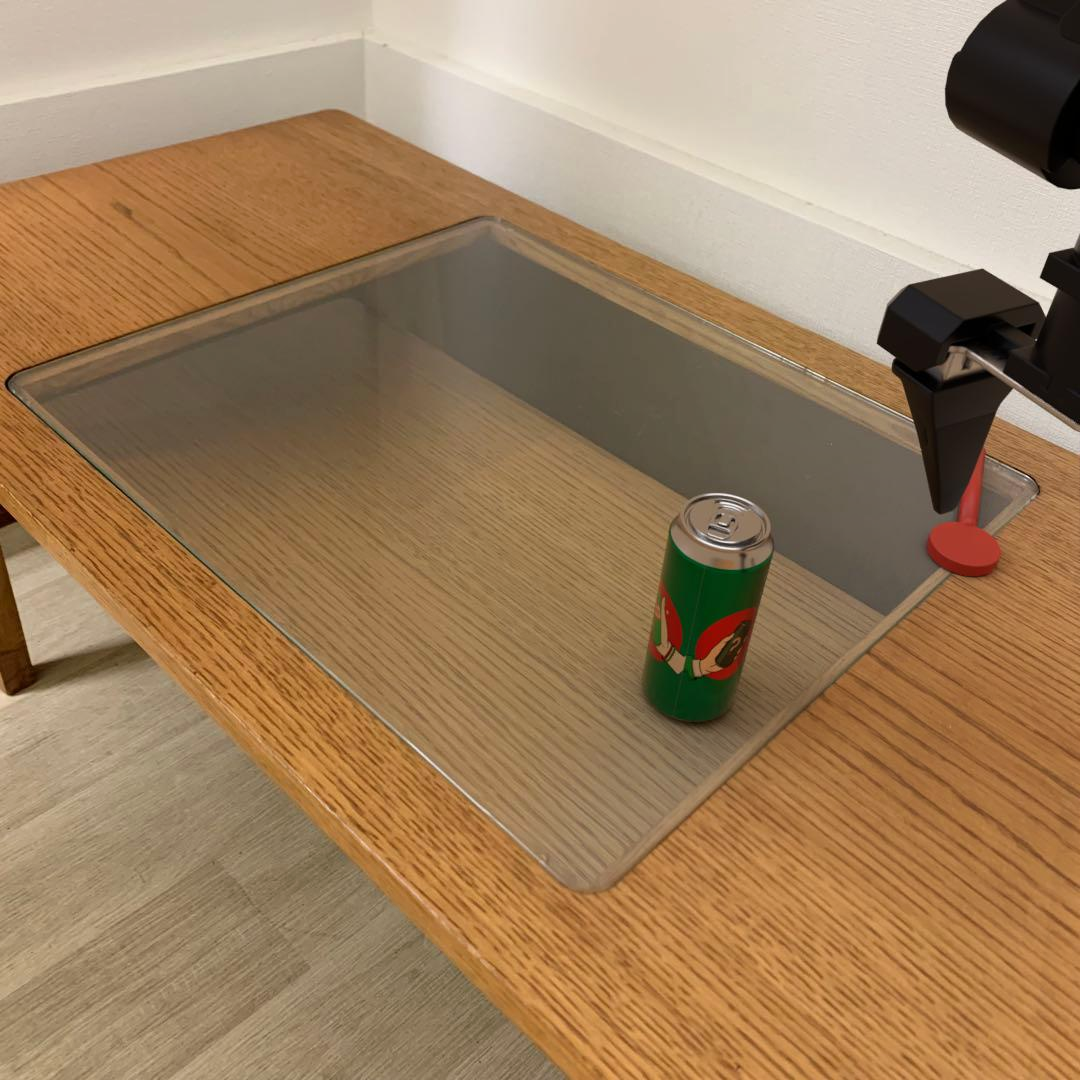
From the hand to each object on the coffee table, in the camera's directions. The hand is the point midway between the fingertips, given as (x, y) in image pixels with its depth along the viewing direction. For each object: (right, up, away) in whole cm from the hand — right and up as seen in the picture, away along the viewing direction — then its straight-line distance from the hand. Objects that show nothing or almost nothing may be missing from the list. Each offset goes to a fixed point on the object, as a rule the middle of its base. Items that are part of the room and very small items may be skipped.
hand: (1016, 570), depth 50 cm
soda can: (-13, -7, +11) cm, 19 cm away
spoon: (+7, +3, +25) cm, 26 cm away
